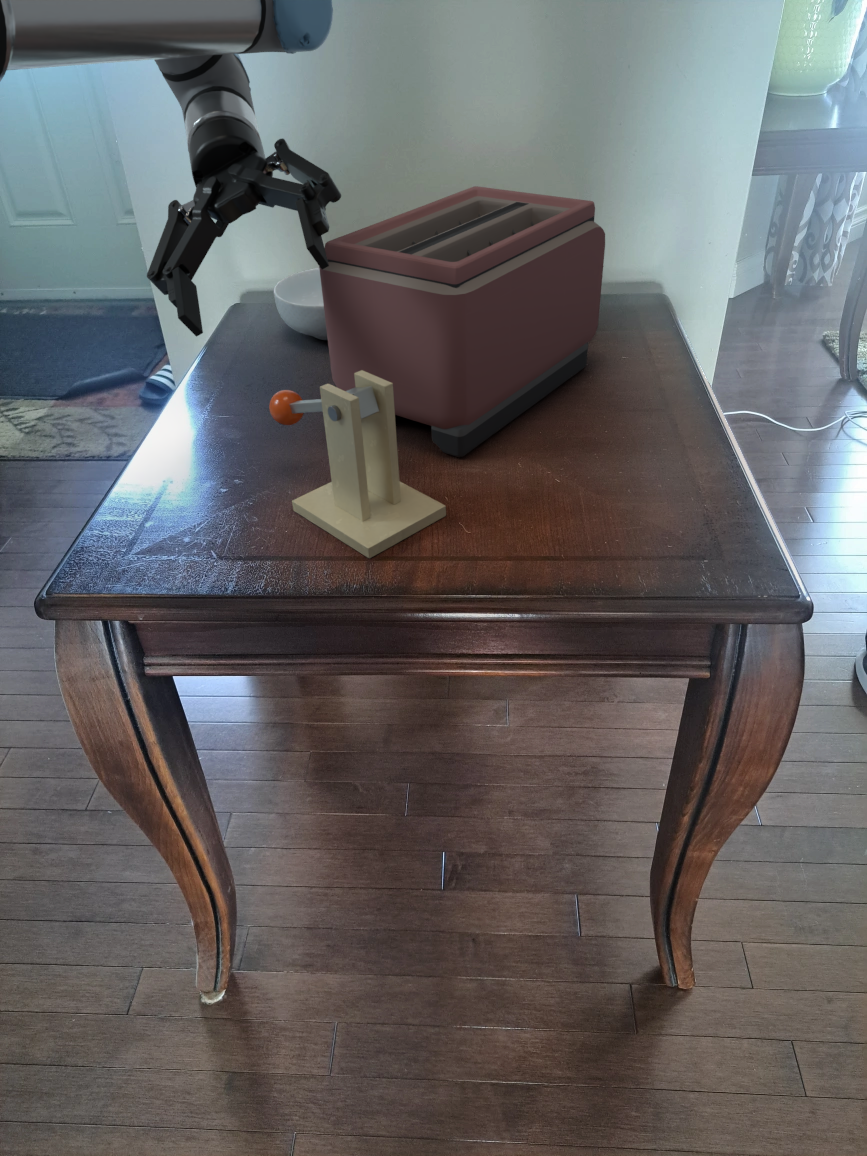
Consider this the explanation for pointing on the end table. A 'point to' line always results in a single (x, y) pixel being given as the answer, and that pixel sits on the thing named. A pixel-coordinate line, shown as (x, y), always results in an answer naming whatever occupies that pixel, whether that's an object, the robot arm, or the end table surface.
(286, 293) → the cereal bowl
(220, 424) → the end table surface
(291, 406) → the lever
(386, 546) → the bracket
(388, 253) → the toaster
